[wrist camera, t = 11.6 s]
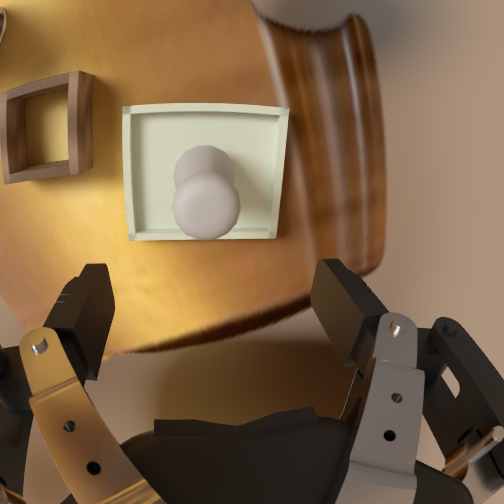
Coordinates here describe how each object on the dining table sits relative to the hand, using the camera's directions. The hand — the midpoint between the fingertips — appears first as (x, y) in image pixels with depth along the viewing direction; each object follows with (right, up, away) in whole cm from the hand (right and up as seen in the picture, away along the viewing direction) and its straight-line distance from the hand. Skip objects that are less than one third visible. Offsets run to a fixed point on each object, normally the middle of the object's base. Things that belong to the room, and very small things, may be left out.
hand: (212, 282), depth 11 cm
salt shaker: (-3, +9, +18) cm, 20 cm away
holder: (-20, +15, +12) cm, 27 cm away
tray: (-4, +10, +18) cm, 21 cm away
